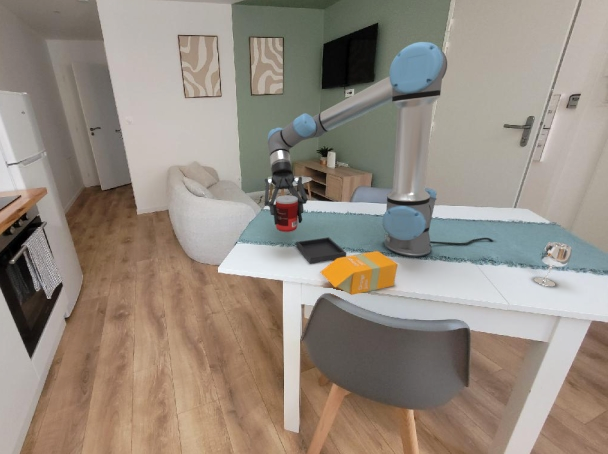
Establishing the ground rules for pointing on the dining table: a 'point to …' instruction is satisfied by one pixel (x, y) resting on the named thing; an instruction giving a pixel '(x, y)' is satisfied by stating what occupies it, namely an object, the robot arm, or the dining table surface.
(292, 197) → the canned food
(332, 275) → the orange juice
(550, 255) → the wineglass
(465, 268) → the dining table surface
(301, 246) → the base pad
